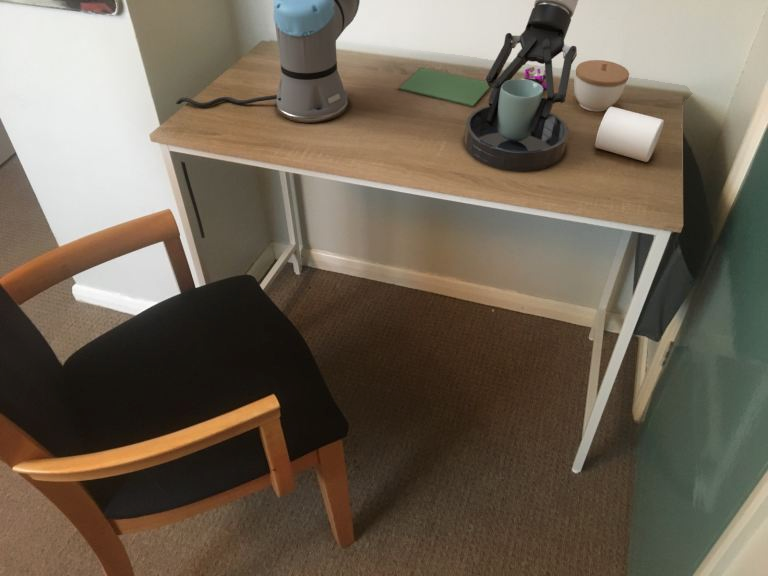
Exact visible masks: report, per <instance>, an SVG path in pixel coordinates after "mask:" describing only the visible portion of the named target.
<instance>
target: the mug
mask: <svg viewBox="0 0 768 576" xmlns="http://www.w3.org/2000/svg"><path fill="white" fill-rule="evenodd" d="M664 124H665V121H664V119H661V118H658V117H654V116H650V115H646V114H642V113H640V112H639V113H638V112H635V111H631V110H627V109H623V108H619V107H615V106H610V107H608V109H607V110H605V113H604V115H603V117H602V120H601V122H600V124H599V128H598V129H597V130H598V131H597V134H596V137H595V142H594V145H595V148H596V149H600V150H601V151H602V150H603V151H607V152H610V153H614V154H615V155H621V156H623V157H627V158H631V159H634V160H638V161H640V162H641V161H642V162H645V163H647V162H649V160H650V159H651V157H652V155H653V153H654V151H655V149H656V146H657V144H658V141H659V138H660V136H661V133H662V130H663V128H664Z"/></svg>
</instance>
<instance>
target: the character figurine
mask: <svg viewBox="0 0 768 576" xmlns="http://www.w3.org/2000/svg"><path fill="white" fill-rule="evenodd" d="M524 71H525V74H524V75H525V77H524V79H527V80H531V81H534V82H537V83H539V84H540V85H541V86H542V87H543V89H545V90H547V89H546V78H545V79H544V77H545V76H546V75H545V70H544V71H542V72H541V68H537V69H536V70H535V66H530V67H529V68H526V69H524ZM534 71H536V73H535V74H533V75H532V76H531V75H530V74H531V73H533V72H534ZM543 82H544V83H543Z"/></svg>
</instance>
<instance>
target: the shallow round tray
mask: <svg viewBox="0 0 768 576" xmlns="http://www.w3.org/2000/svg"><path fill="white" fill-rule="evenodd" d="M490 109H491V106H489V104H487V105H485V106H481V107H479V108H478V109H476V110H473V112H471V113H470V114H469V116H468V117H467V119H466V123H465V131H464V146H465V149H466V150H467V153H469V154H470V156H471V157H472V158H474V159H475V160H477V161H478V162H480V163H482V164H484V165H487V166H489V167H492V168H495V169H499V170H502V171H509V172H533V171H539V170H543V169H546V168H549V167H552V166H553V165H555V164H556V163H558V162H559V161H560V160H561V159H562V158H563V155H564V152H565V149H566V147H567V141H568V138H569V128H568V125H567V124H566V122H565V121H564V120H563V119H562V117H560V116H559V115H557V114H556V113H554V112H552V111H550V114H549V116H548V118H547V119H546V120H545V119H541V122H540V125H539V128H538V131H537V133H536V136H535V137H534V136H531V135H530V136H529V137H528V138H527V139H525V140H522V141H510V140H507V139H505V138H503V137H502V136H501V135H500V134H499V132H498V129H497V115H496V117H495V120H494V123H493V126H491V125H489V124H488V122H487V117H488V115H489V112H490Z"/></svg>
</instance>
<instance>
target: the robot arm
mask: <svg viewBox="0 0 768 576" xmlns="http://www.w3.org/2000/svg"><path fill="white" fill-rule="evenodd" d="M360 2H361V0H273V21H274V25H275V32H276V33H275V34H276V41H277V48H278V49H277V50H278V57H279V62H280V63H279V64H280V72H281V73H280V78H279V84H278V88H277V92H276V93H277V94H274V95H265V96H259V97H253V98H249V99H236V98H233V97H230V96H222V97H217V98H214V99H212V100H210V101H207V102H199V101H196V100H195V99H192V98H189V97H184V96H183V97H180V98H179V99H178V100H176V102H175V104H176V105H180V104H182V103H183V102H185V103H188V104H191V105H193V106H196V107H200V108H202V107H203V108H205V107H211V106H212V105H213V106H214V105H216V104H218V103H221V102H231V103H233V104H237V105H247V104H253V103H257V102H258V103H259V102H264V101H273V100H276V110H277V112H278V114H279V115H281V116H282V117H283V118H285V119H286V120H290V121H291V122H296V123H305V124H306V123H307V124H312V123H313V124H314V123H315V124H316V123H323V122H327V121H331V120H333V119H335V118H338V117H340V116H342V114H344V113H345V111H346V110H347V109H348V105H349V104H348V95H347V91H346V90H345V87H344V84H343V82H342V79H341V76H340V74H339V70H338V59H337V58H338V57H337V40H338V39H339V37H340V36H341V35H342V33H343V32H344V31H345V30H346V29H347V27H349V26H350V25H351V23H352V22H353V21H354V19H355V17H356V16H357V13H358V11H359V7H360ZM578 2H579V0H535V1H534V4H533V7H532V9H531V12H530V15H529V18H528V21H527V23H526V26H525V29H524V31H523V32H522V33H520V35H513V34H512V33H511V32H507V33H506V34H505V36H504V42H503V46H502V47H501V49H500V51H499V52H498V55H497V56H496V58H495V60H494V62H493V64H492V66H491V68H490V69H489V71H488V73H487V75H486V77H485V82H487V83H488V85H489V86H491V87H490V88H492V89H491V91H490V95H489V97H488V102H487V103H488V104H487V105H489V106H491V109H490V112H489V115H488V117H487V122H488V124H489V125H491V126H493V123H494V120H495V117H496V115H497V109H498V102H499V95H500V89H501V86H502V84H503V83H504V82H506V81H508V80H511V79H513V77H514V76H515V75H516V74H517V73H518V72H519V70H520V69H521V68H522V67H523V66H525V65H526V64H527V63H528V62H533V63H534V62H536V63H538V64H542V65H544V71H545V75H544V76H545V79H546V89H545V90H546V97H543V98H542V99H541V102H540V105H539V108H538V110H537V113H536V116H535V119H534V122H533V124H532V127H531V130H530V133H531V136H534V137H535V136H536V133H537V131H538V128H539V125H540V122H541V119H545V120H546V119H547V118H548V116H549V114H550V112H552V108H553V106H554V104H556V103H560V104H563V103H565V101H566V97H567V93H568V86H569V80H570V75H571V69H572V65H573V63H574V61H575V59H576V57H577V55H578V51H577V46H575V45H571V46H569V45H567V44H565V39H566V36H567V33H568V31H569V28H570V25H571V22H572V17H573V16H574V15H575V14H574V13H575V11H576V9H577V5H578ZM518 44H520V46H521V49H520V50H519V51H518V53H517V54H516V56H515V58H513V60H512V61H511V62H510V63H509V64H508V66H507V67H506V68H505V69H504V70H503V68H504V67H505V65H506V63H507V61H508V59H509V58H510V55H511V53H512V51H513V49H516V47H517V45H518ZM561 53H562V58H563V59H564V60H563V65H562V70H561V74H560V75H561V76H560V79H559V85H558V91H557V92H556V93H555V87H554V73H553V59H554V58H555V57H557V56H558V55H559V54H561ZM502 70H503V72H502ZM501 72H502V73H501ZM180 164H181V168H182V172H183V176H184V179H185V180H184V181H185V183H186V187H187V190H188V195H189V197H190V200H191V203H192V204H191V205H192V207H193V210H194V214H195V218H196V221H197V225H198V229H199V233H200V237H201V239H205V238H206V236H205V232H204V228H203V223H202V220H201V216H200V212H199V209H198V205H197V202H196V199H195V194H194V192H193V189H192V185H191V181H190V178H189V174H188V170H187V166H186V162H184V161H180Z"/></svg>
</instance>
